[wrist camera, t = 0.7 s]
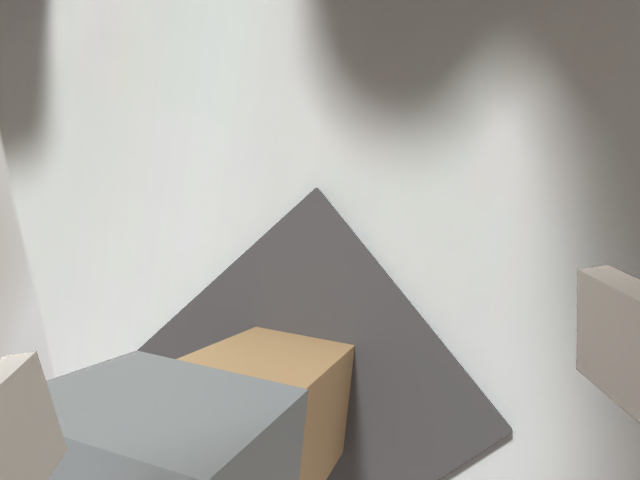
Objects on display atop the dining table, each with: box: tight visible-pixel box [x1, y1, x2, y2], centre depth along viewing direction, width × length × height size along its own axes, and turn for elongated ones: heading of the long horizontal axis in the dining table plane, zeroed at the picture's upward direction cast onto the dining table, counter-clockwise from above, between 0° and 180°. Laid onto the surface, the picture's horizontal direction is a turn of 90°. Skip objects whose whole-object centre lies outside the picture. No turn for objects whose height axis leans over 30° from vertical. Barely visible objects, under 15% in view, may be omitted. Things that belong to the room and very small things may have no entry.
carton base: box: [176, 327, 355, 480], centre depth 28 cm, size 8×8×18 cm
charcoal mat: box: [137, 188, 513, 480], centre depth 37 cm, size 22×22×1 cm
